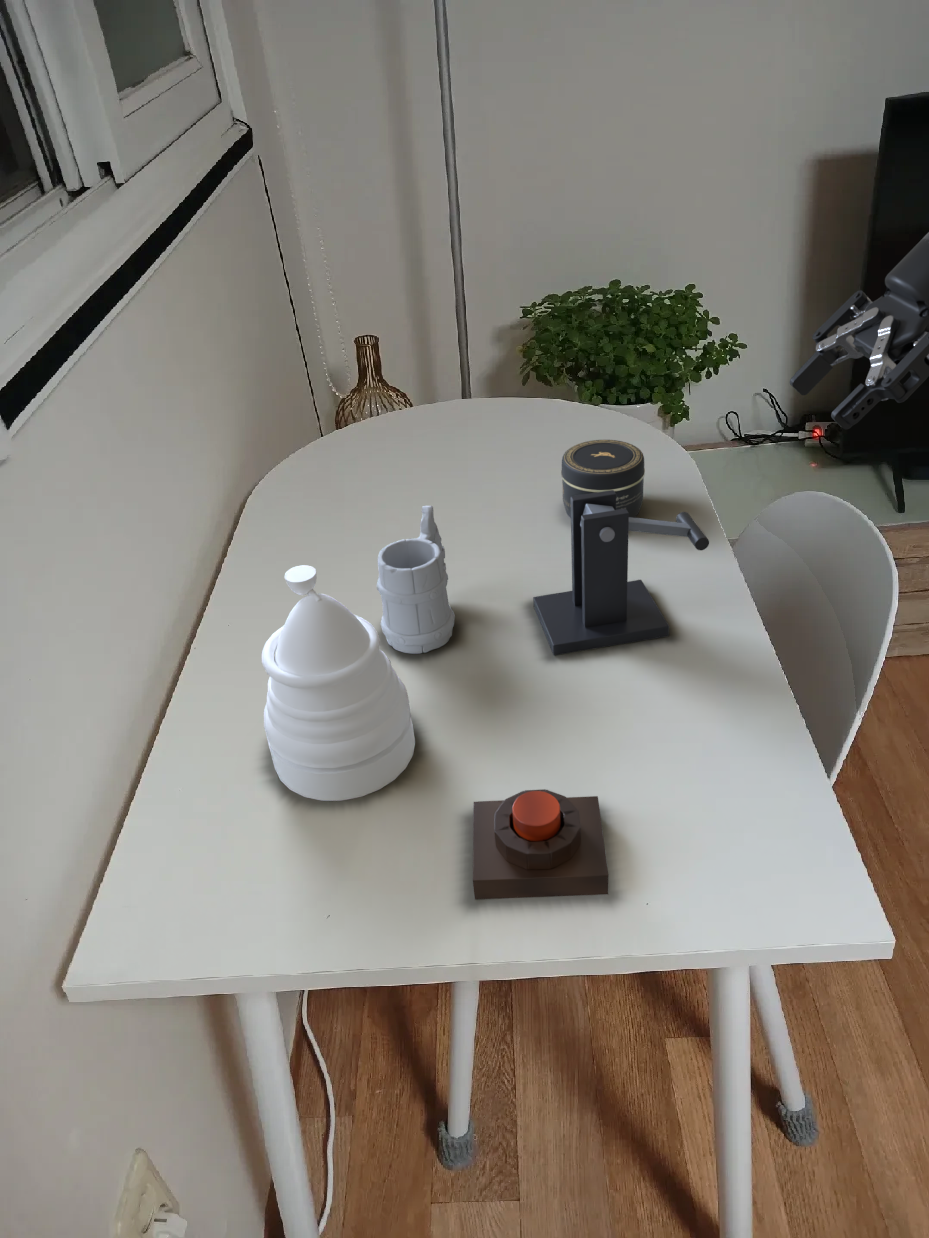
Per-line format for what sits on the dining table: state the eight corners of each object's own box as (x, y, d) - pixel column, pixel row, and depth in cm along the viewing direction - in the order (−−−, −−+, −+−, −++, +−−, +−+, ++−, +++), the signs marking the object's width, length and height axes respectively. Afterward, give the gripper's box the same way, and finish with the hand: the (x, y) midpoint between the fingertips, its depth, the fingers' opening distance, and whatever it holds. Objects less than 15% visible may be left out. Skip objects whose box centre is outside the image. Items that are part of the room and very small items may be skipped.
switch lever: (685, 528, 98) (692, 508, 97) (705, 555, 94) (713, 534, 92) (575, 517, 95) (581, 495, 94) (589, 544, 91) (596, 521, 89)
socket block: (597, 814, 78) (597, 779, 75) (608, 894, 71) (608, 858, 69) (475, 820, 78) (471, 785, 76) (474, 899, 72) (470, 864, 69)
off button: (559, 805, 74) (558, 789, 73) (562, 840, 71) (561, 824, 70) (512, 807, 74) (511, 791, 73) (514, 842, 71) (512, 826, 70)
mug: (371, 651, 98) (354, 551, 92) (412, 589, 108) (399, 494, 101) (441, 660, 96) (429, 559, 89) (476, 596, 105) (468, 500, 98)
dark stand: (640, 589, 104) (644, 475, 96) (668, 636, 96) (675, 517, 89) (533, 606, 103) (527, 492, 95) (553, 655, 95) (549, 536, 87)
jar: (556, 497, 122) (554, 443, 118) (632, 488, 123) (634, 433, 118) (570, 536, 114) (569, 479, 110) (652, 526, 114) (654, 469, 110)
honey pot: (252, 740, 89) (206, 578, 78) (373, 685, 94) (345, 526, 83) (311, 823, 79) (268, 652, 69) (441, 757, 85) (420, 589, 74)
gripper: (890, 220, 88) (760, 357, 94) (983, 257, 76) (829, 411, 82) (932, 271, 92) (804, 401, 97) (1028, 314, 80) (877, 459, 85)
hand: (816, 406), depth 90 cm, fingers open, 8 cm apart
